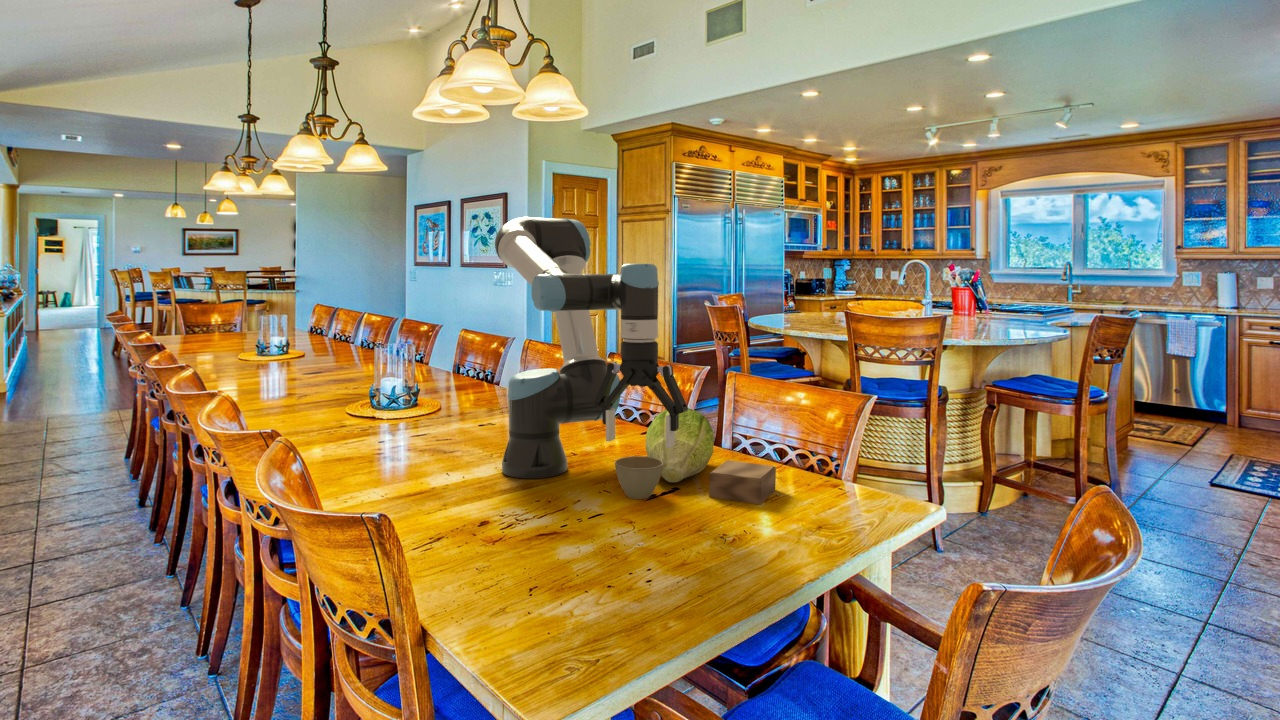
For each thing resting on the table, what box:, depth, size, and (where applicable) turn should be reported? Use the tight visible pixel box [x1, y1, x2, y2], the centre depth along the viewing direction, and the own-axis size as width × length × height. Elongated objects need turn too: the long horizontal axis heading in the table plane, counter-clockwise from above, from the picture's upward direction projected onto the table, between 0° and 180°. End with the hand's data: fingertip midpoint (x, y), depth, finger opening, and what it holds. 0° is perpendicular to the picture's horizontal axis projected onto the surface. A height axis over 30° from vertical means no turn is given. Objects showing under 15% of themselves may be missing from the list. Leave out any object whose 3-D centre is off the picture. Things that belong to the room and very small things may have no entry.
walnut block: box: [708, 460, 777, 505], centre depth 147 cm, size 11×11×5 cm
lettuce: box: [645, 407, 714, 483], centre depth 161 cm, size 15×24×16 cm
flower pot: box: [614, 455, 663, 500], centre depth 145 cm, size 10×10×7 cm
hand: (639, 443), depth 144 cm, fingers open, 13 cm apart
